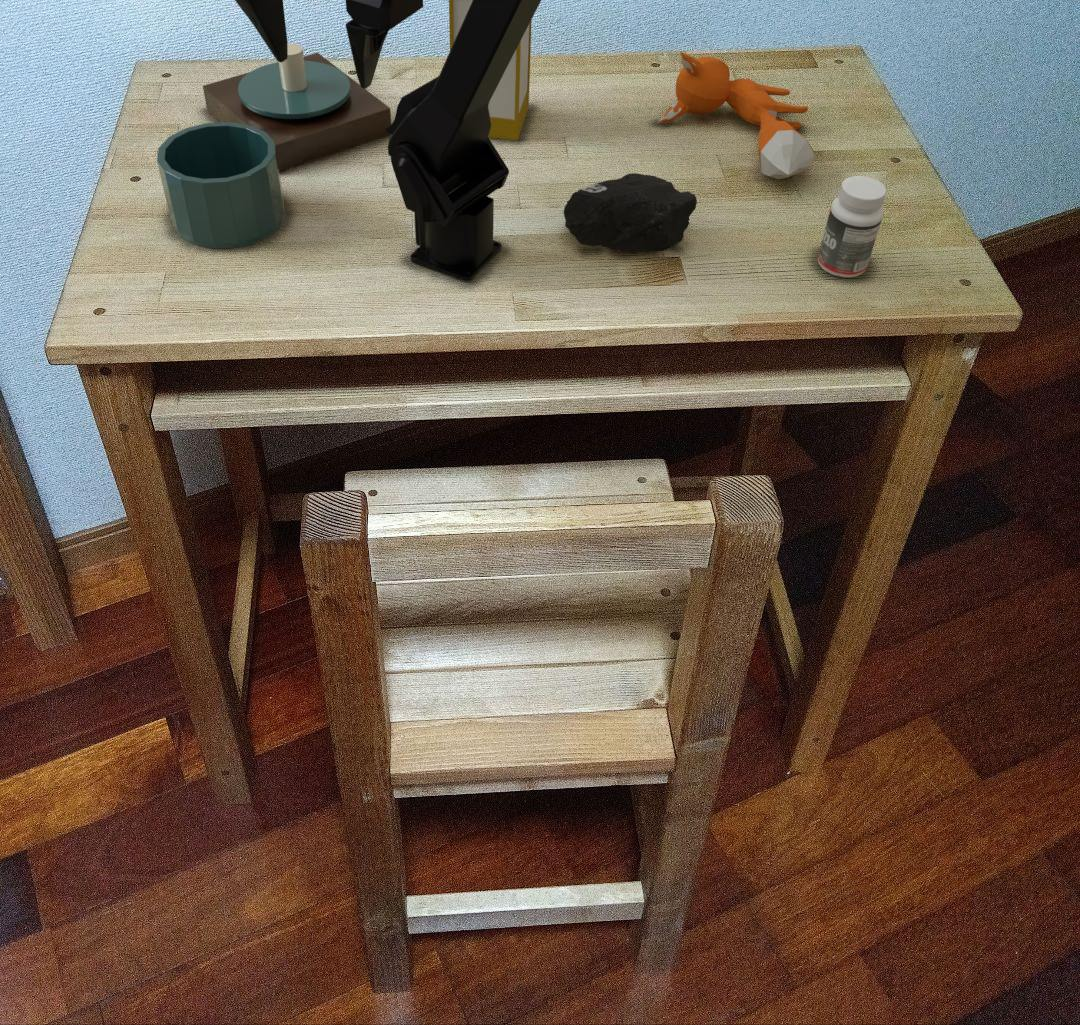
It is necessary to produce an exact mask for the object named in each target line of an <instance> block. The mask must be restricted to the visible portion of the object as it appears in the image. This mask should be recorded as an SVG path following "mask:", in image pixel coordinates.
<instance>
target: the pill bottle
mask: <svg viewBox="0 0 1080 1025" xmlns="http://www.w3.org/2000/svg"><path fill="white" fill-rule="evenodd" d="M886 194H887V188H886V186H885V185H884V184H883V183H882V182H881V181H880V180H878V179H875V178H873V177H870V176H866V175H853V176H849V177H846V178H845V179H844V180H843V181H842V183H841V185H840V189H839V191H838V196H836V198H835V199H834V200H832V203H831V205H830V209H829V213H828V217H827V221H826V224H825V228H824V232H823V236H822V239H821V243H820V247H819V251H818V254H817V262H818V265H819V267H820V268H821V269H822V270H824V271H825V272H826V273H828V274H830V275H833V276H837V277H841V278H856V277H858V276H861V275H862V274H864V273H865V272H866V271H867V268H868V266H869V263H870V259H871V256H872V252H873V249H874V246H875V244H876V240H877V237H878V234H879V230H880V227H881V225H882V224H881V223H882V221H883V217H884V209H883V205H884V203H885V199H886Z"/></svg>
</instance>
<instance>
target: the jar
mask: <svg viewBox="0 0 1080 1025" xmlns="http://www.w3.org/2000/svg"><path fill="white" fill-rule="evenodd" d="M156 163H157V167H158V171H159V175H160V180H161V184H162V188H163V194H164V197H165V201H166V205H167V210H168V214H169V218H170V222H171V223H172V226H173V229H174V231H175V232H176V234H177V235H178V236H179V237H180V238H182V239H183V240H184V241H186V242H188V243H190V244H193V245H196V246H198V247H201V248H208V249H218V250H219V249H222V250H223V249H226V250H227V249H235V248H242V247H246V246H247V247H248V246H250V245H253V244H256V243H259V242H261V241H264V240H265V239H267V238H269V237H270V236H272V235H273V234H274V233H275V232H277V231H278V230H279V228H280V227H281V226H282V224H283V223H284V219H285V215H286V213H285V201H284V195H283V194H284V193H283V187H282V181H281V180H282V179H281V174H280V173H281V172H279V165H278V159H277V152H276V145H275V142H274V141H273V140H272V139H271V138H270V136H269V135H268V134H267V133H266V132H264V131H262V130H259V129H257V128H255V127H253V126H250V125H245V124H239V123H233V122H206V123H200V124H197V125H193V126H188V127H186V128H183V129H181V130H180V131H178V132H176V133H174V134H171V135H170V136H168V137H167V138H166V139H165V140H164V141H163V143H161V145H159V147H158V148H157V157H156Z"/></svg>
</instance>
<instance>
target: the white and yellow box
mask: <svg viewBox="0 0 1080 1025" xmlns="http://www.w3.org/2000/svg"><path fill="white" fill-rule="evenodd" d="M472 1H473V0H448V16H449V17H448V20H449V21H448V22H449V24H448V25H449V27H448V28H449V51H450V50H451V48H452V46H453V43H454V41H455V39H456V37H457V34H458V32H459V30H460V28H461V26H462V23H463V21H464V19H465V17H466V14H467V12H468V10H469V8H470V5H471V3H472ZM532 20H533V18H532V19H531V21H530V23H529V25H528V27H527V29H526V31H525V33H524V35H523V37H522V39H521V41H520V43H519V45H518V47H517V49H516V51H515V53H514V55H513V57H512V59H511V60H510V62H509V64H508V66H507V68H506V70H505V72H504V74H503V76H502V78H501V80H500V82H499V84H498V86H497V88H496V90H495V92H494V94H493V96H492V98H491V100H490V102H489V105H488V109H489V113H490V118H491V128H490V132H489V135H488V138H491V139H492V138H493V139H500V140H501V139H502V140H510V141H518V140H519V138H520V134H521V131H522V129H523V126H524V123H525V120H526V118H527V117H526V116H527V114H528V111H529V108H530V79H531V76H530V75H531V52H532V50H531V49H532Z"/></svg>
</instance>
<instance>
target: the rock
mask: <svg viewBox="0 0 1080 1025" xmlns="http://www.w3.org/2000/svg"><path fill="white" fill-rule="evenodd" d="M697 204H698V199H697V196H696V194H694V193H691V192H690V191H679V190H678V189H676V188H675V187H674V184H673V183H672V181H667V180H666V179H664V178H661V177H658V176H656V175H650V174H642V173H636V172H633V173H632V172H631V173H627V174H625V175H623V176H622V177H620V178H616V179H608V180H607V179H606V180H604V181H600V182H597V183H593V184H591V185H589V186H586V187H583V188H580V189H578V190H577V191H575V192H573V193H572V194H571V196H570V198H569V199H568V200H567V201H566V204H565V205H564V208H563V216H564V220H565V222H564V227H565V228H566V229H568V232H569V233H570V235H572V236H573V237H574V238H575V239H576V240H577V242H578V243H579V245H582V246H587V247H599V246H600V247H603V248H606V249H608V250H612V251H618V252H621V253H625V254H634V253H638V252H642V253H643V252H661V251H667V250H670V249H672V248H674V247H675V245H678V244H680V243H681V242H683V239H684V237H685V236H684V234H685V231H686V230H687V228H688V227H689V225H690V216H691V215H692V214H693V212H694V211H695V210H696V209H697Z"/></svg>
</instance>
